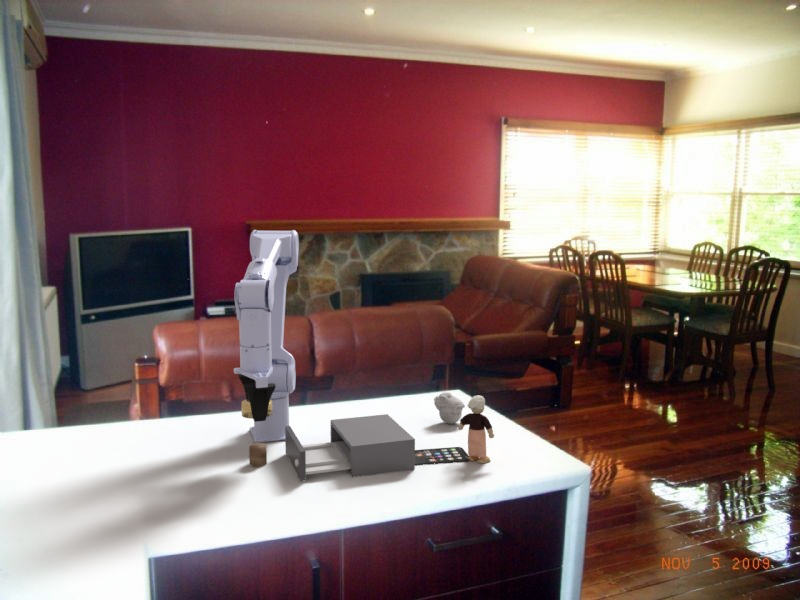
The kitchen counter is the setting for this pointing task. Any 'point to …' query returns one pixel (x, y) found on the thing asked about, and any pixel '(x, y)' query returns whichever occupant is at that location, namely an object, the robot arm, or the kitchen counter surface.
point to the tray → (316, 455)
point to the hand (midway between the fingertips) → (257, 415)
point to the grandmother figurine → (477, 430)
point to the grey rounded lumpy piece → (449, 407)
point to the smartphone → (440, 455)
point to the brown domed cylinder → (258, 454)
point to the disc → (247, 409)
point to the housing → (375, 444)
